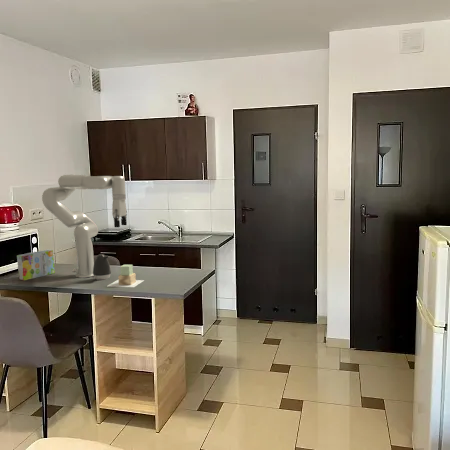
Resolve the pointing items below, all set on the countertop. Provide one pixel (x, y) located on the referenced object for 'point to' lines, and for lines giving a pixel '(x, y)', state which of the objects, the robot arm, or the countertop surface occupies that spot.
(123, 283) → the oak block
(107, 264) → the pump dispenser
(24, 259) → the snack box
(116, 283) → the building board
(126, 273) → the sage cube
